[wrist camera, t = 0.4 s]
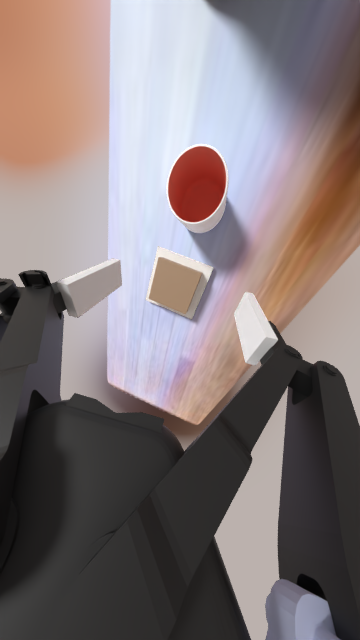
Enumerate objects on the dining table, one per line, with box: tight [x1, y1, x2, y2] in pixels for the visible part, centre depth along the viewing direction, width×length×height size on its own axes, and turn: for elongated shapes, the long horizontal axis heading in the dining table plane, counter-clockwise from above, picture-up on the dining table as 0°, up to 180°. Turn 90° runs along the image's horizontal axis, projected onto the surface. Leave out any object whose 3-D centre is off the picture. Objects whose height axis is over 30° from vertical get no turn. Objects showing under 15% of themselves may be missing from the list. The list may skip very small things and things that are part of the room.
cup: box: [167, 144, 228, 233], centre depth 27 cm, size 10×10×10 cm
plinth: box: [146, 246, 214, 319], centre depth 37 cm, size 15×15×4 cm
